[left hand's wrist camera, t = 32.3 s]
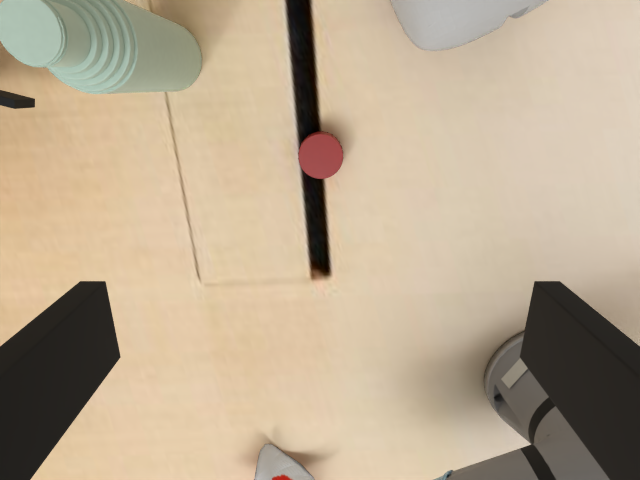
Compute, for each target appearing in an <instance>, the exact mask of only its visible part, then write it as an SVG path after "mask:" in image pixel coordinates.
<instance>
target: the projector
mask: <svg viewBox="0 0 640 480" xmlns="http://www.w3.org/2000/svg"><path fill="white" fill-rule="evenodd" d="M390 1H391V4H392V6H393V9H394V11H395V13H396V15H397V18H398V20H399V22H400V24H401V26H402V28H403V30H404V31H405V33H406V35H407V36H408V38H409V39H410V40H411V41H412V43H413V44H414V45H415V46H417V47H418V48H420V49H423V50H427V51H441V50H447V49H451V48H454V47H458V46H461V45H464V44H466V43H469V42H471V41H474V40H476V39H478V38H480V37H482V36H484V35H486V34H488V33H490V32H492V31H494V30H496V29H498V28H500V27H501V26H502V25H503V23H504V22H505V20H506V18H507V17H512V18H519V17H521V16H523V15H525V14H526V13H528V12H530V11H532V10H533V9H535V8H537V7H539V6H540V5H542V4H543V3H545V2H547V1H548V0H390Z"/></svg>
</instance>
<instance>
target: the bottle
mask: <svg viewBox="0 0 640 480" xmlns="http://www.w3.org/2000/svg"><path fill="white" fill-rule="evenodd" d="M0 41H1V43H2V44H3V46H4V47H5V48H6V50H7V51H8V52H9V53H10V54H11V55H12V56H14V57H15V58H16V59H17V60H19V61H20V62H22V63H24V64H26V65H29V66H32V67H47V68H48V69H49V71H50V72H51V73H52V74H53V75H54V76H55V77H57V78H58V79H59V80H60V81H62V82H63V83H65V84H67V85H69V86H70V87H73V88H75V89H77V90H79V91H82V92H86V93H91V94H111V93H139V92H168V91H181V90H184V89H186V88H188V87H189V86H191V85H192V84H193V83H194V82H195V80H196V79H197V77H198V76H199V73H200V70H201V65H202V56H201V51H200V48H199V45H198V43H197V41H196V39H195V38H194V36H193V35H192V34H191V33H190V32H189V31H188V30H187V29H186V28H184V27H183V26H181V25H179V24H177V23H174V22H172V21H170V20H168V19H165V18H163V17H161V16H158V15H156V14H154V13H152V12H149V11H147V10H145V9H142V8H140V7H138V6H136V5H133V4H131V3H129V2H127V1H124V0H3V1H2V2H1V3H0Z"/></svg>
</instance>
